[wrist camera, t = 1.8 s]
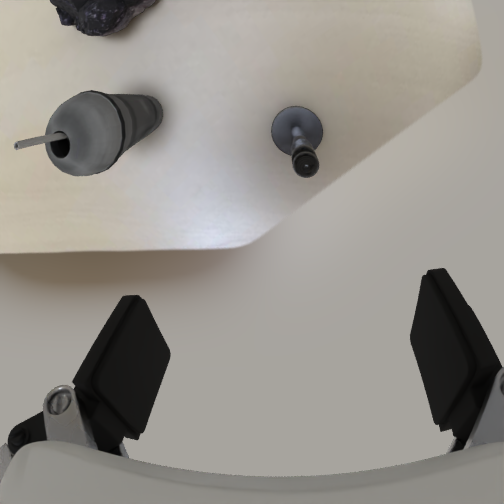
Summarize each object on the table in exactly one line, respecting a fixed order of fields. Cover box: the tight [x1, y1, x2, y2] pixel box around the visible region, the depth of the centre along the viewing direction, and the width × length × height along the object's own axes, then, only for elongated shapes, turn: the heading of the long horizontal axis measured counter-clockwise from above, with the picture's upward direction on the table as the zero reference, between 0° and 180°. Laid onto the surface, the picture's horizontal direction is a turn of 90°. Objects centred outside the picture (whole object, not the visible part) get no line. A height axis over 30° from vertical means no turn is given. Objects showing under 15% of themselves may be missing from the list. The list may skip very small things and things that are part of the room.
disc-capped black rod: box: [271, 106, 323, 178], centre depth 24 cm, size 5×5×16 cm
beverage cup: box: [14, 90, 163, 176], centre depth 22 cm, size 7×7×20 cm
